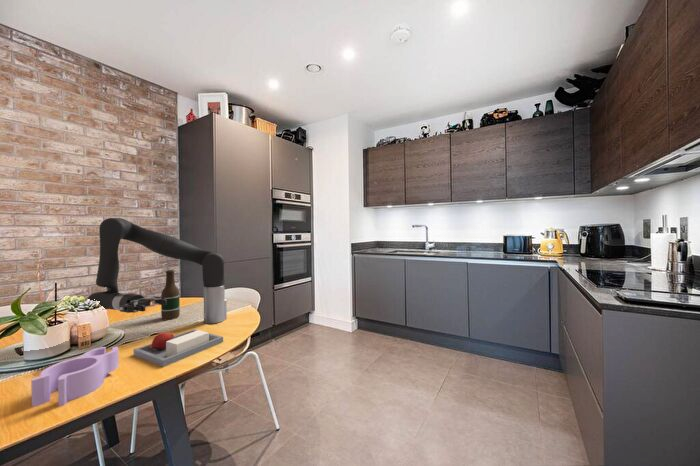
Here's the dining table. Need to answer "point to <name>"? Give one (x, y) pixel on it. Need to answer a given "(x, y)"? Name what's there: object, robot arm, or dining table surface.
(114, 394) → the dining table surface
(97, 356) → the clip
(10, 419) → the dining table surface
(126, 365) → the dining table surface
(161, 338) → the onion
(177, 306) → the beer bottle
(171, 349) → the white box
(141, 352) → the tray
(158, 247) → the robot arm
